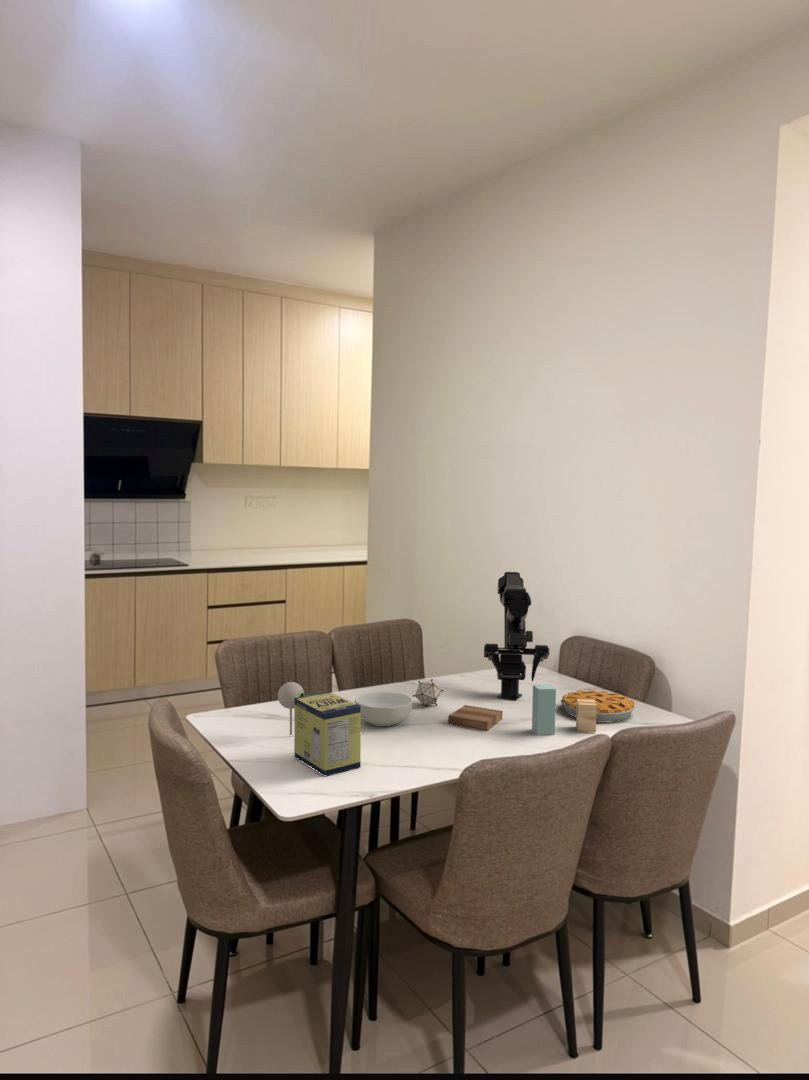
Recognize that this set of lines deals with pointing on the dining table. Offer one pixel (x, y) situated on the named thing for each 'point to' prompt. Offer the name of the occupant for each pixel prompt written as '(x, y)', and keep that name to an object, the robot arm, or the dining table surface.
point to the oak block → (586, 715)
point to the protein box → (327, 732)
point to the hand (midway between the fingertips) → (516, 680)
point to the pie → (601, 704)
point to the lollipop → (289, 697)
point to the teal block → (543, 709)
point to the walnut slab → (475, 717)
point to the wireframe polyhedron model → (427, 693)
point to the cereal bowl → (384, 707)
